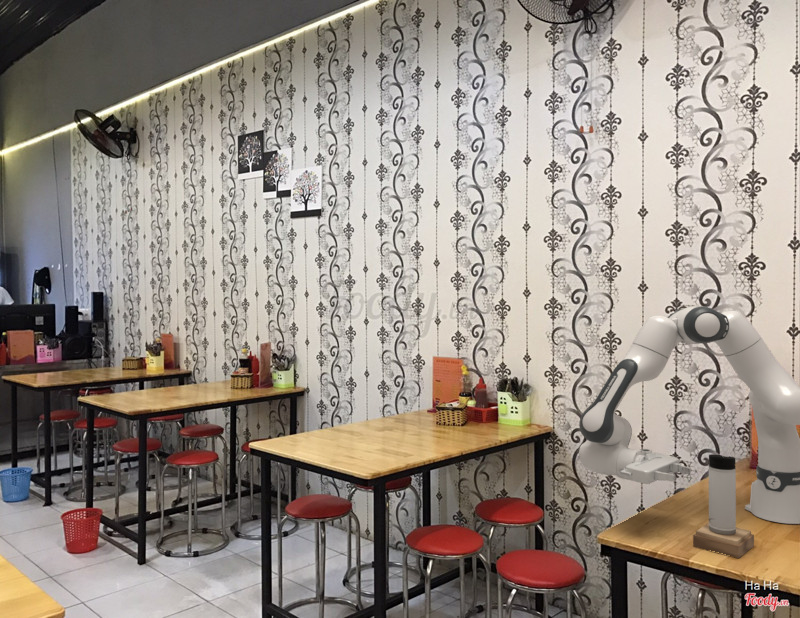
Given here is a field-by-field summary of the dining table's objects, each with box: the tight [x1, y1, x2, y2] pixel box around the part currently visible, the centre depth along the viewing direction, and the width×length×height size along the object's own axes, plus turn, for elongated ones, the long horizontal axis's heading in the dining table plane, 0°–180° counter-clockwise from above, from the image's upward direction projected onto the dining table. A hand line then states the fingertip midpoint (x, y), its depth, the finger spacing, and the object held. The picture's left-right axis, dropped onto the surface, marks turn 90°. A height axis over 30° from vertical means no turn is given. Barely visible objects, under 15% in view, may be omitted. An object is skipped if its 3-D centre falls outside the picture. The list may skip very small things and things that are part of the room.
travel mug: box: [708, 454, 737, 535], centre depth 168 cm, size 6×7×20 cm
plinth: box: [692, 522, 755, 560], centre depth 168 cm, size 11×11×4 cm
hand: (682, 474), depth 175 cm, fingers open, 8 cm apart
